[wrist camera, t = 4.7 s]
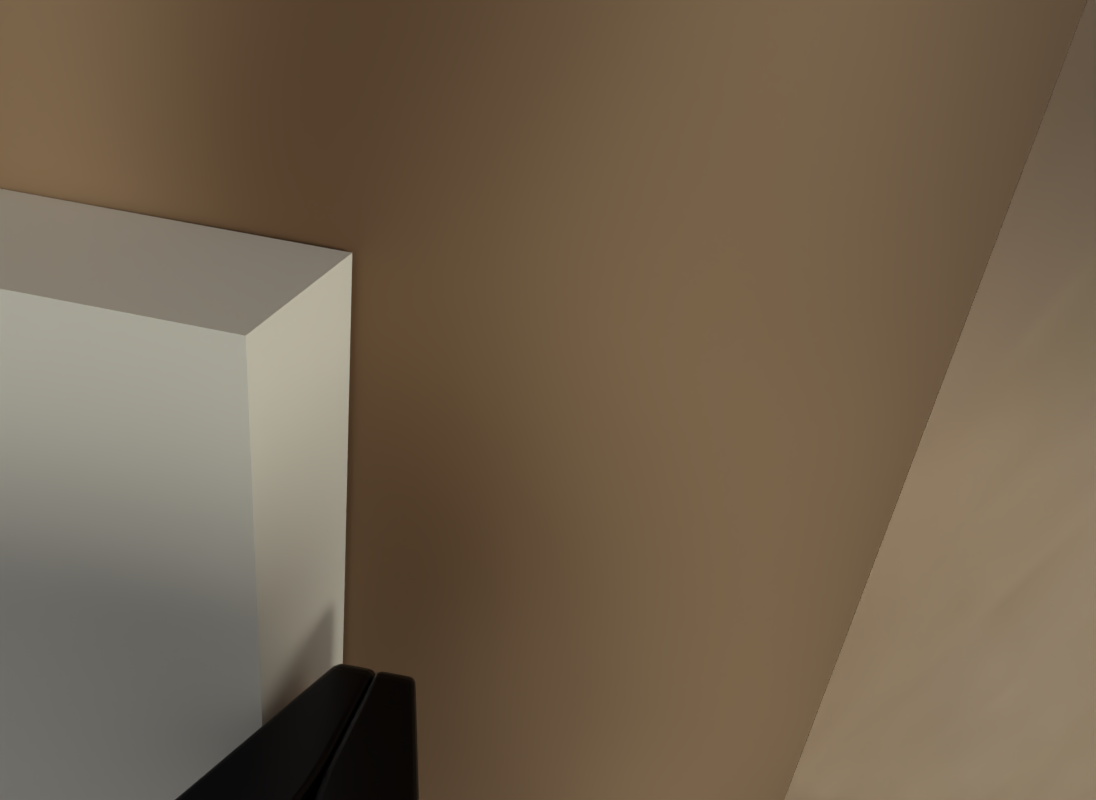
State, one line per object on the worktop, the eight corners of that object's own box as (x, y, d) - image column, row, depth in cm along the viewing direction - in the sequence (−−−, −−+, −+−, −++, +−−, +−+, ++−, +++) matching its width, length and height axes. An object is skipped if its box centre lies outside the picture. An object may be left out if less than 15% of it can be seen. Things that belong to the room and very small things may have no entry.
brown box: (954, -93, 9) (1144, -153, 5) (680, 830, 16) (683, 1063, 13) (132, -191, 10) (-185, -300, 6) (228, 740, 17) (111, 939, 13)
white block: (352, 252, 7) (245, 335, 6) (337, 862, 11) (274, 1019, 10) (-253, 143, 8) (-533, 186, 6) (-54, 769, 12) (-183, 903, 10)
